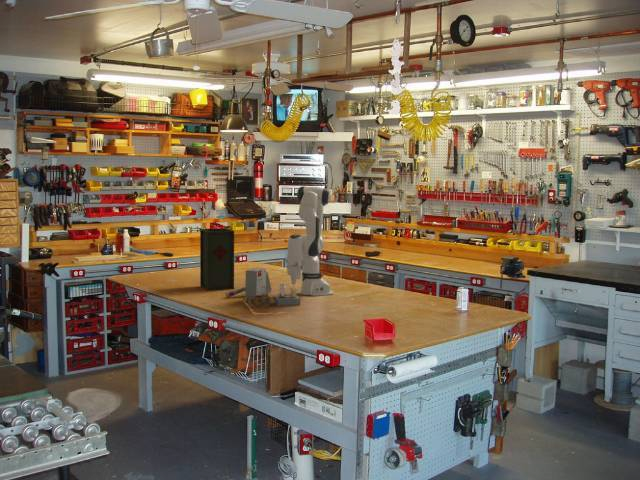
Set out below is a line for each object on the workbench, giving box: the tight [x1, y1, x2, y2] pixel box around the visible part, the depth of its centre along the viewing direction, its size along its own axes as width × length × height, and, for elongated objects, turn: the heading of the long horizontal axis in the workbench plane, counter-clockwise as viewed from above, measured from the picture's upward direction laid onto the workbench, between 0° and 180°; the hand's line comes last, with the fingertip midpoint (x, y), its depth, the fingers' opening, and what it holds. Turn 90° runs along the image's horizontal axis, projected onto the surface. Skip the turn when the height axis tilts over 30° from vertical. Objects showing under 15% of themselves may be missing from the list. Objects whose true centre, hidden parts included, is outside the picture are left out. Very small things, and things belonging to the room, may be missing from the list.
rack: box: [247, 294, 272, 310], centre depth 389 cm, size 12×10×6 cm
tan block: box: [289, 287, 298, 298], centre depth 395 cm, size 3×5×6 cm, turn 16°
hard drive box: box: [244, 267, 267, 303], centre depth 406 cm, size 16×8×20 cm, turn 162°
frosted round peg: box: [279, 283, 286, 298], centre depth 393 cm, size 3×3×12 cm
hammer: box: [225, 271, 273, 299], centre depth 421 cm, size 15×8×30 cm
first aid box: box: [199, 227, 235, 292], centre depth 446 cm, size 18×18×40 cm
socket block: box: [273, 294, 301, 307], centre depth 394 cm, size 14×10×5 cm
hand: (293, 284), depth 394 cm, fingers closed
